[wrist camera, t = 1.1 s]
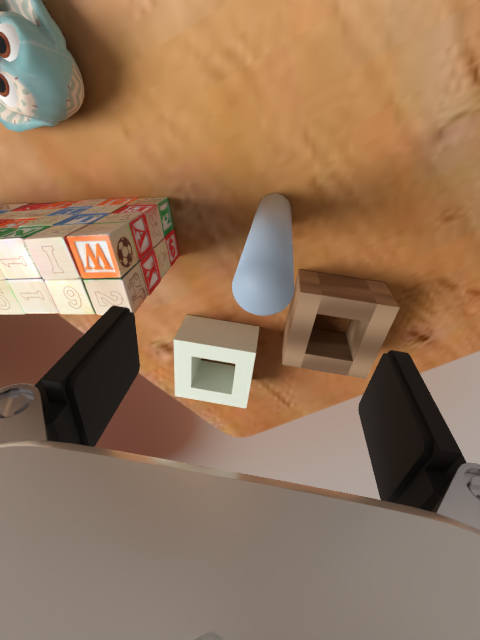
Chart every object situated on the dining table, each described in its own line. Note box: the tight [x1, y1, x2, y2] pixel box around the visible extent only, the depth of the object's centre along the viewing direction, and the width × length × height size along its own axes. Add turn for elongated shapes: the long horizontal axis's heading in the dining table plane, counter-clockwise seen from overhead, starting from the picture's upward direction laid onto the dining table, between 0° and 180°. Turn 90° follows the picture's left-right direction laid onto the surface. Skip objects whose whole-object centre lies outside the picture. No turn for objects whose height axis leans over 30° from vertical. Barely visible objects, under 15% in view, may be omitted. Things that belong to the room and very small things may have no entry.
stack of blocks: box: [0, 197, 179, 315], centre depth 28 cm, size 21×6×12 cm, turn 94°
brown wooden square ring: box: [282, 270, 400, 379], centre depth 32 cm, size 9×9×5 cm
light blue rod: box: [232, 193, 294, 316], centre depth 22 cm, size 3×3×16 cm
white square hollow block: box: [174, 315, 260, 408], centre depth 37 cm, size 9×9×5 cm
